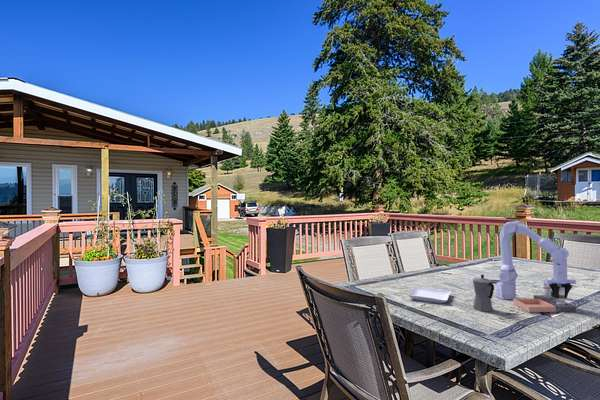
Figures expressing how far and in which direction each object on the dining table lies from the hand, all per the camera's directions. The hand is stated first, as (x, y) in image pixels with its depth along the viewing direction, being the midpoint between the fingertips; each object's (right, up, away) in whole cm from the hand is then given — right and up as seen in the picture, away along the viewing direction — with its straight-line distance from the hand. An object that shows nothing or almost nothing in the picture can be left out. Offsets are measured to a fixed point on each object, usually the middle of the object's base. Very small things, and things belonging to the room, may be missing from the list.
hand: (560, 297), depth 177 cm
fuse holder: (0, -5, +5) cm, 7 cm away
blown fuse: (0, -3, 0) cm, 3 cm away
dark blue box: (+11, -5, +20) cm, 23 cm away
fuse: (0, -5, +10) cm, 11 cm away
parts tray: (-13, -6, +1) cm, 14 cm away
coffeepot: (-39, -7, +1) cm, 39 cm away
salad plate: (-58, -7, +23) cm, 63 cm away
